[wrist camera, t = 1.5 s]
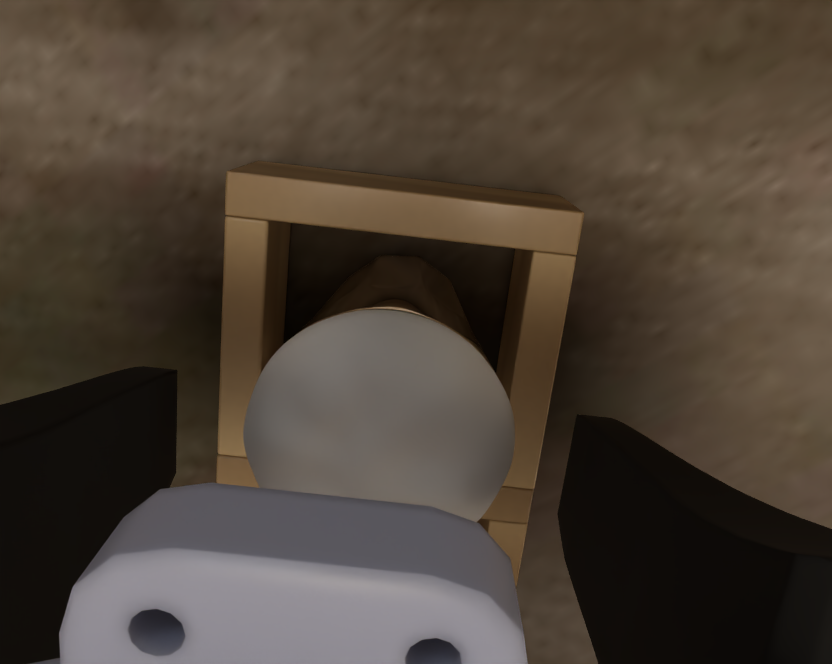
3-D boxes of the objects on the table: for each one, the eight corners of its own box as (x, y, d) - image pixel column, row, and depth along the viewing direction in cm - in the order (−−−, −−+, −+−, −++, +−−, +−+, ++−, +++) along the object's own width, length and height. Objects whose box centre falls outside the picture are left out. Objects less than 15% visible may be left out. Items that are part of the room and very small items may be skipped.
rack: (482, 661, 24) (489, 739, 21) (235, 635, 23) (207, 709, 21) (561, 195, 19) (585, 212, 16) (256, 160, 19) (225, 170, 16)
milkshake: (287, 381, 21) (164, 620, 11) (346, 204, 19) (264, 304, 10) (436, 433, 21) (441, 706, 12) (507, 263, 20) (579, 416, 10)
